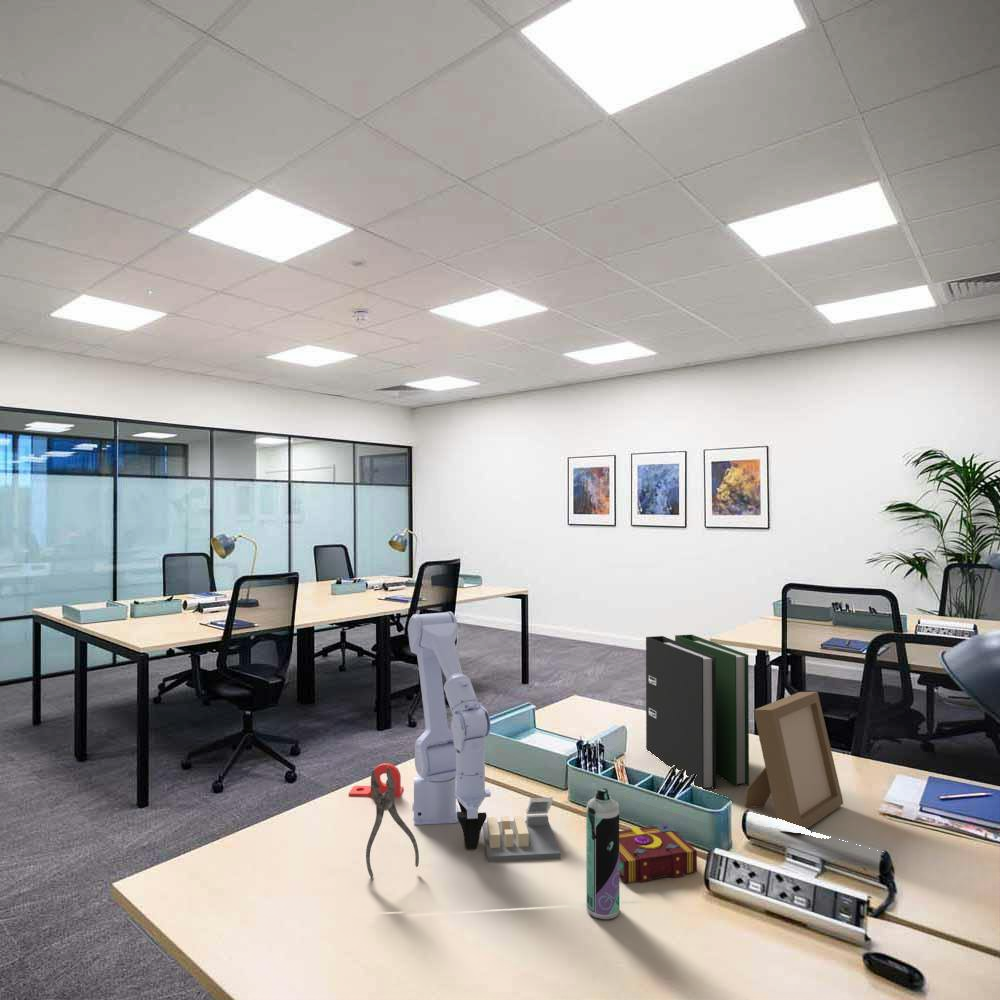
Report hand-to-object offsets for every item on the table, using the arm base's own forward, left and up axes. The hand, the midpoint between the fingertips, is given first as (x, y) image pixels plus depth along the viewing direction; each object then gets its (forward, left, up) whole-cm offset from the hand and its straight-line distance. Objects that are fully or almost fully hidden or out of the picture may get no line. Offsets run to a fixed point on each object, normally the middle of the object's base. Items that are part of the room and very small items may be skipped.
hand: (470, 838), depth 133 cm
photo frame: (+72, +9, -2) cm, 72 cm away
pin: (0, 0, -2) cm, 2 cm away
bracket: (-21, +27, -2) cm, 34 cm away
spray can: (+21, -23, -2) cm, 31 cm away
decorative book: (+32, -10, -2) cm, 34 cm away
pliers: (-15, -9, -2) cm, 18 cm away
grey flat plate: (+14, +6, +1) cm, 16 cm away
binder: (+60, +34, -2) cm, 69 cm away
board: (+10, +1, -2) cm, 10 cm away
